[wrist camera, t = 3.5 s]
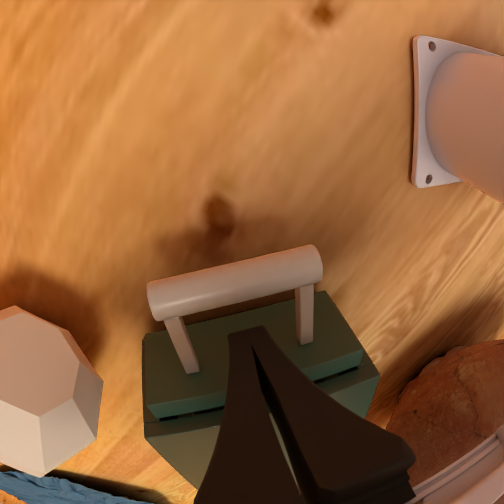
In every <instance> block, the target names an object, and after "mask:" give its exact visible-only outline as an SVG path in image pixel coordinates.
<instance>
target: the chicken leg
mask: <svg viewBox="0 0 504 504" xmlns="http://www.w3.org/2000/svg"><path fill="white" fill-rule="evenodd" d="M102 389H103V380H102V379H101V377H100V376H99V375H98V373H97V372H96V371H95V369H94V368H93V366H92V365H91V363H90V362H89V361H88V359H87V358H86V356H85V355H84V353H83V352H82V350H81V349H80V347H79V346H78V344H77V343H76V341H75V340H74V338H73V336H72V335H71V333H70V332H69V331H68V330H66V329H64V328H61V327H59V326H57V325H55V324H53V323H50V322H48V321H46V320H44V319H42V318H40V317H38V316H35V315H33V314H31V313H29V312H27V311H25V310H23V309H21V308H19V307H17V306H15V305H14V306H11V307H9V308H6V309H3V310H1V311H0V463H3V464H5V465H7V466H10V467H12V468H15V469H17V470H20V471H22V472H25V473H28V474H30V475H33V476H36V477H39V478H41V477H42V476H44V475H45V474H47V473H49V472H50V471H52V470H53V469H55V468H56V467H58V466H59V465H61V464H62V463H64V462H65V461H67V460H68V459H70V458H71V457H73V456H74V455H76V454H77V453H79V452H80V451H82V450H83V449H84V448H86V447H87V446H88V445H90V444H91V443H92V442H94V441H95V440H96V438H97V428H98V419H99V411H100V403H101V396H102Z"/></svg>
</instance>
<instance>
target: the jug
mask: <svg viewBox="0 0 504 504" xmlns="http://www.w3.org/2000/svg"><path fill="white" fill-rule="evenodd" d="M398 400H399V404H398V405H397V407H396V409H395V410H394V412H393V414H392V416H391V418H390V421H389V423H388V425H387V427H386V430H387V431H389V432H391V433H394V434H396V435H398V436H400V437H402V438H403V439H404V440H405V442H406V443H407V444H408V445H409V446H410V448H411V449H412V450H413V452H414V454H415V456H416V458H417V459H416V461H415V463H414V464H413V465H412V466H411V467H410V468H409V469H408V470H407V473H408V475H409V476H410V480H409V483H410V485H411V487H414V486H416V485H418V484H420V483H421V482H423V481H425V480H427V479H428V478H430V477H432V476H433V475H435V474H437V473H438V472H440V471H441V470H443V469H445V468H446V467H448V466H449V465H451V464H452V463H454V462H455V461H457V460H458V459H460V458H461V457H463V456H464V455H466V454H467V453H468V452H470V451H471V450H473V449H474V448H475V447H477V446H478V445H479V444H481V443H482V442H483V441H485V440H486V439H487V438H489V437H490V436H491V435H492V434H494V433H495V432H496V430H497V429H498V428H499V427H500V426H501V425H502V424H503V423H504V339H502V340H493V341H487V342H482V343H479V344H475V345H473V346H470V347H462V346H456V347H454V348H452V349H451V350H449V351H448V352H447V353H446V355H445V356H443V357H437V358H435V359H434V360H432V361H431V362H430V363H429V364H427V365H426V366H425V367H424V368H423V370H422V371H421V373H420V374H419V376H418V377H417V378H415V379H414V380H412V381H410V382H409V383H407V385H406V387H405V388H404V389H403V391H402V392H401V393H400V395H399V396H398ZM419 501H420V500H419ZM419 501H418V502H419ZM418 502H416V503H414V504H417V503H418ZM493 504H504V494H503V495H502V496H501V497H500V498H498V499H497V500H496V501H495V502H494V503H493Z"/></svg>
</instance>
